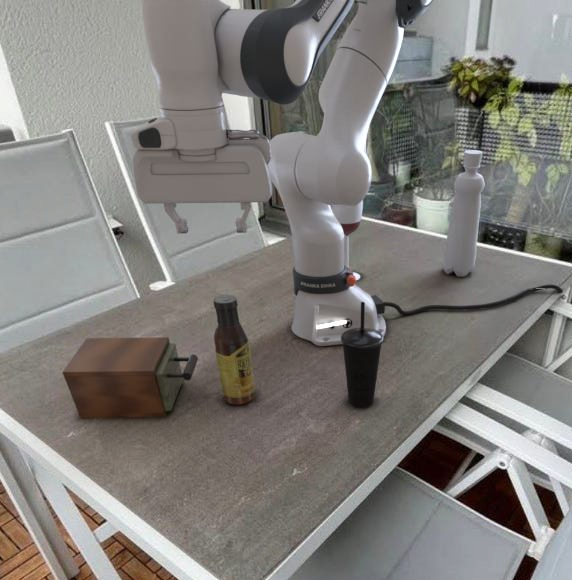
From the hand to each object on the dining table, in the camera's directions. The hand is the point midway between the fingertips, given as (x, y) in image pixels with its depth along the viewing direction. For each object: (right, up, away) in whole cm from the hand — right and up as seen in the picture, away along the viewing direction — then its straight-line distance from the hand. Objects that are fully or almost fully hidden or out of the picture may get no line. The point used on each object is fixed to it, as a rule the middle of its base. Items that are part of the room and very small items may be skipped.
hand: (212, 232), depth 87 cm
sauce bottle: (0, -23, +21) cm, 31 cm away
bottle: (+53, +21, +70) cm, 90 cm away
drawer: (-17, -23, +19) cm, 34 cm away
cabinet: (-21, -23, +20) cm, 37 cm away
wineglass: (+21, +19, +67) cm, 73 cm away
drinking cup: (+24, -24, +20) cm, 39 cm away
